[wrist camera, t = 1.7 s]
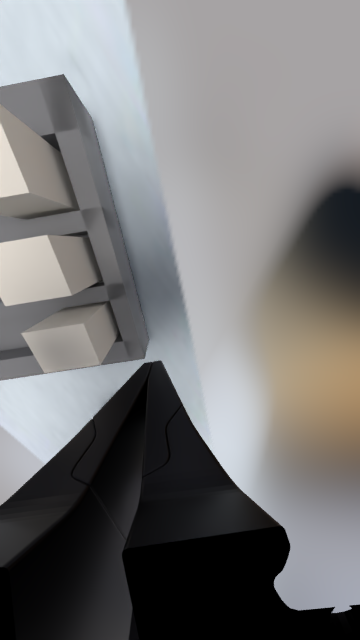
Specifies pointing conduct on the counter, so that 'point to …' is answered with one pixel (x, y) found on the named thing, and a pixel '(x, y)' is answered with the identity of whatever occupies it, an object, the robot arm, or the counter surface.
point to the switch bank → (70, 227)
